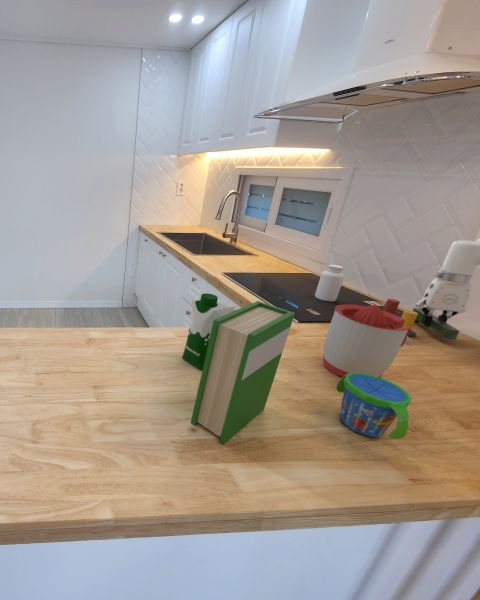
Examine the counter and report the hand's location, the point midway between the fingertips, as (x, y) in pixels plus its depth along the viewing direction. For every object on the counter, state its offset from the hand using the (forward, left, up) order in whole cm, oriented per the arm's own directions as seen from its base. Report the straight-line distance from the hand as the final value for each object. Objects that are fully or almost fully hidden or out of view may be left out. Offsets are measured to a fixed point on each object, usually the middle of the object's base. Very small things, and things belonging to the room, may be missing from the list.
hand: (431, 325), depth 121 cm
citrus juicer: (+39, +45, -3) cm, 59 cm away
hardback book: (+73, +78, -3) cm, 107 cm away
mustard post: (+11, +6, -2) cm, 12 cm away
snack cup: (+46, +70, -3) cm, 84 cm away
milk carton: (+79, +57, -3) cm, 97 cm away
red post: (+11, -6, -2) cm, 12 cm away
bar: (0, 0, -1) cm, 1 cm away
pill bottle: (+27, -22, -3) cm, 35 cm away
